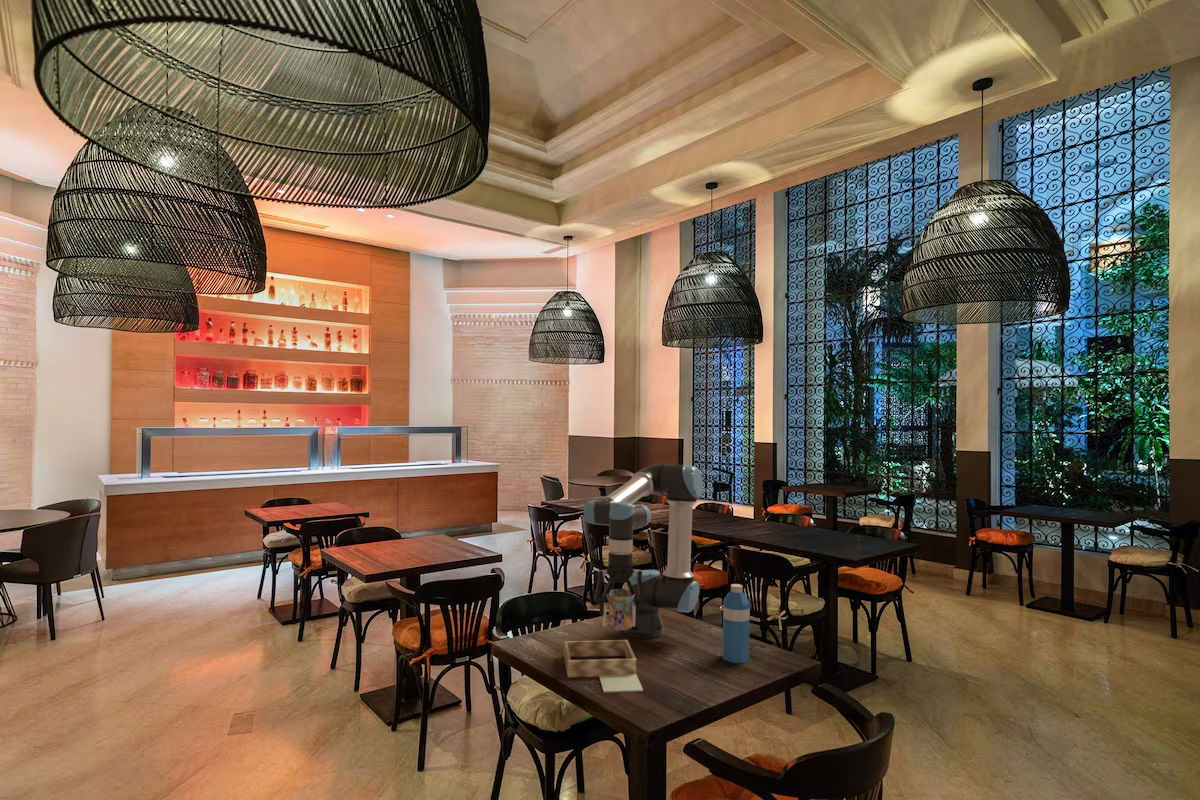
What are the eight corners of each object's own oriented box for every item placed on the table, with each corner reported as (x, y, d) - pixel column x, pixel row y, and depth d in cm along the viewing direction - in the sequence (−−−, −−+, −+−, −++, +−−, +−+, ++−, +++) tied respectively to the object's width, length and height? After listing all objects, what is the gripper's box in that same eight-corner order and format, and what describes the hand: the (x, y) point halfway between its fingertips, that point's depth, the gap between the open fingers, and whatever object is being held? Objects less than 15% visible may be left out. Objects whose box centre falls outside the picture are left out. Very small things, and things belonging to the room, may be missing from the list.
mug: (638, 631, 197) (639, 596, 197) (609, 633, 194) (610, 597, 195) (626, 619, 208) (626, 586, 209) (598, 621, 206) (599, 587, 206)
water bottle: (718, 660, 221) (719, 586, 222) (726, 651, 230) (727, 580, 230) (745, 665, 217) (746, 590, 217) (752, 656, 225) (753, 584, 226)
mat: (636, 675, 207) (636, 673, 207) (643, 691, 195) (643, 689, 195) (599, 676, 206) (599, 674, 206) (603, 692, 194) (603, 691, 194)
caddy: (627, 654, 225) (627, 639, 225) (636, 675, 207) (636, 659, 207) (564, 655, 222) (564, 641, 222) (567, 677, 204) (567, 661, 204)
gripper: (651, 549, 207) (650, 621, 206) (585, 549, 205) (583, 621, 204) (656, 554, 199) (654, 628, 199) (587, 554, 197) (585, 629, 197)
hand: (618, 625), depth 201 cm, fingers closed on mug, 8 cm apart
